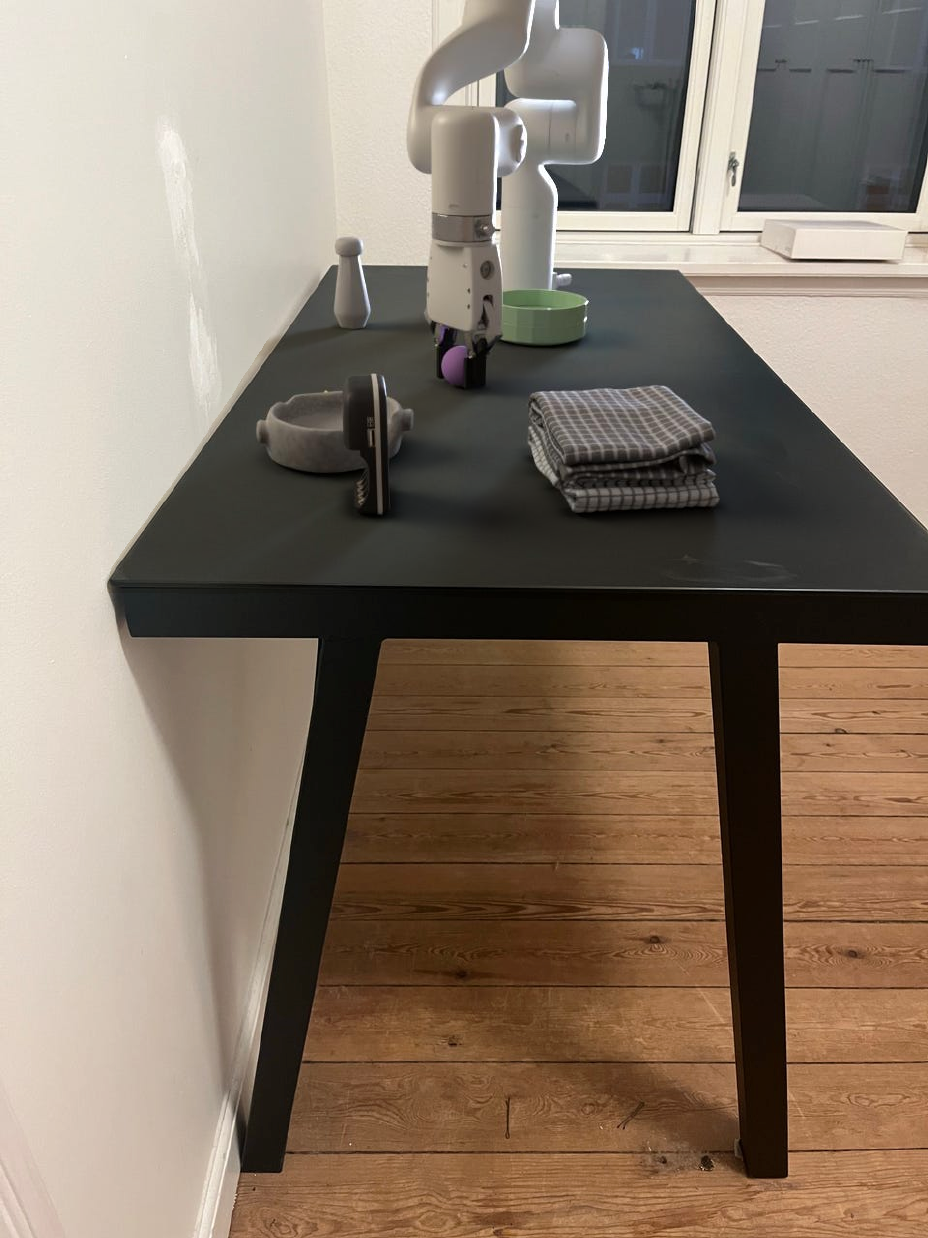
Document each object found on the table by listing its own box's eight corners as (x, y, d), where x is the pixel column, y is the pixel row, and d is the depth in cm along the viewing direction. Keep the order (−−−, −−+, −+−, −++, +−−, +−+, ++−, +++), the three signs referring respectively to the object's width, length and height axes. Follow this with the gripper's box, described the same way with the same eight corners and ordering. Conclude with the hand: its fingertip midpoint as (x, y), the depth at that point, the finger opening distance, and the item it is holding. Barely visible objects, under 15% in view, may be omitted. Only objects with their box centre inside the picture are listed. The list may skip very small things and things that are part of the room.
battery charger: (346, 488, 87) (340, 369, 81) (386, 487, 88) (382, 368, 82) (347, 519, 81) (340, 392, 75) (390, 517, 82) (386, 391, 76)
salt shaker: (374, 322, 147) (371, 235, 140) (367, 330, 142) (364, 241, 136) (338, 320, 148) (334, 234, 141) (330, 329, 143) (325, 239, 136)
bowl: (539, 320, 150) (541, 285, 148) (605, 338, 140) (608, 301, 137) (466, 332, 142) (466, 295, 140) (530, 352, 132) (532, 313, 129)
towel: (656, 444, 99) (665, 372, 95) (721, 512, 84) (736, 429, 80) (519, 449, 97) (523, 376, 93) (560, 520, 82) (567, 435, 78)
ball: (464, 378, 120) (465, 339, 118) (488, 387, 117) (489, 347, 114) (433, 384, 118) (433, 344, 115) (457, 393, 114) (457, 353, 112)
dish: (425, 444, 98) (424, 398, 96) (359, 488, 87) (356, 438, 85) (311, 423, 103) (308, 380, 101) (235, 463, 92) (229, 415, 90)
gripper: (534, 236, 104) (526, 393, 113) (445, 218, 116) (444, 363, 125) (483, 241, 100) (479, 404, 109) (396, 222, 112) (399, 371, 121)
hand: (460, 380), depth 117 cm, fingers closed on ball, 4 cm apart
